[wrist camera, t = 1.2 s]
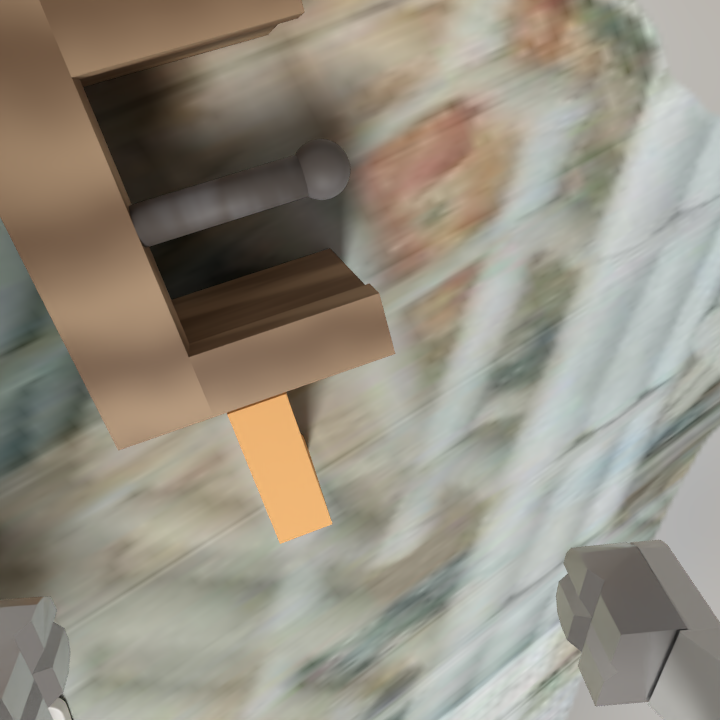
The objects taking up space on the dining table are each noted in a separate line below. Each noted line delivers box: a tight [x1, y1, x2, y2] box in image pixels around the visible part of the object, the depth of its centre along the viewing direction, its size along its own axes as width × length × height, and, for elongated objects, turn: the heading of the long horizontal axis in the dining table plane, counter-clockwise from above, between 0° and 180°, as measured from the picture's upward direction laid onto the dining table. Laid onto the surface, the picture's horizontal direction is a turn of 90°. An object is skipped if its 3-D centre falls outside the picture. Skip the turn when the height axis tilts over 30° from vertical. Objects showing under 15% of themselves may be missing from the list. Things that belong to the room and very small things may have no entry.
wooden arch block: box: [227, 392, 332, 544], centre depth 44 cm, size 10×4×10 cm, turn 15°
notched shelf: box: [0, 0, 395, 450], centre depth 35 cm, size 20×15×14 cm
